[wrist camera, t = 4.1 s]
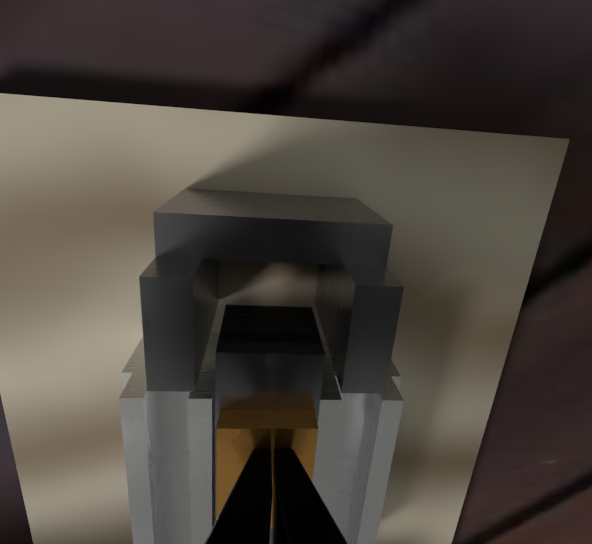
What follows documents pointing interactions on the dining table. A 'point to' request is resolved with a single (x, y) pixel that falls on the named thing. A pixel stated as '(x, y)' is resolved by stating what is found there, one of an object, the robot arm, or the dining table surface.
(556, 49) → the dining table surface
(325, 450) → the finned block
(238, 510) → the robot arm
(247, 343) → the strap
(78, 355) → the base board
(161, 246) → the bracket
